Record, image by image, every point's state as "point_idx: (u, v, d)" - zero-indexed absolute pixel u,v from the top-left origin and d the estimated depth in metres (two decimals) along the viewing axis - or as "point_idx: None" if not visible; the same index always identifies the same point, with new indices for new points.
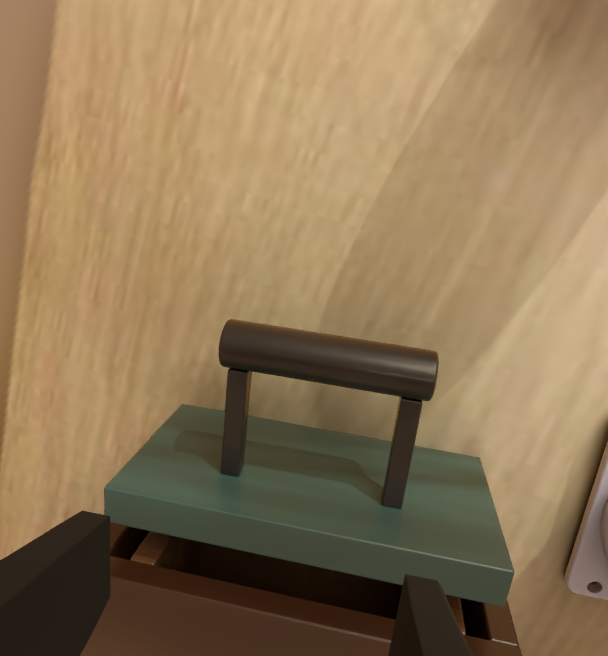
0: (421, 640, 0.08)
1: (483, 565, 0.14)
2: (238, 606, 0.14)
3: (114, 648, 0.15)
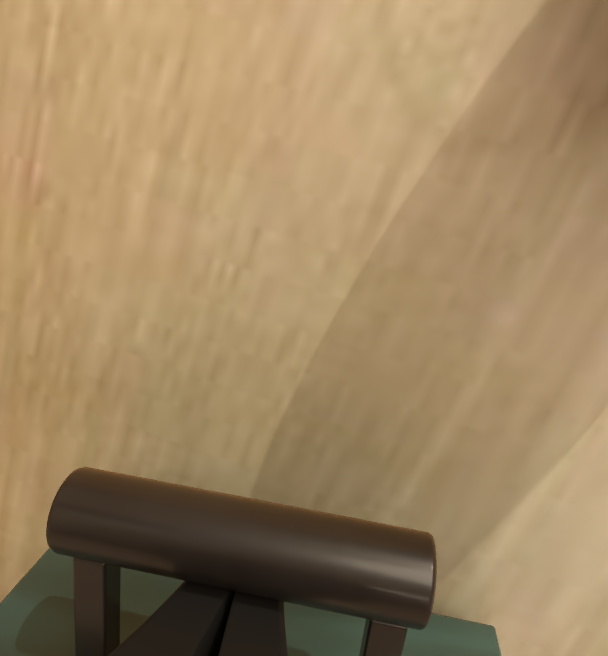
0: (235, 601, 0.08)
1: None
2: None
3: None
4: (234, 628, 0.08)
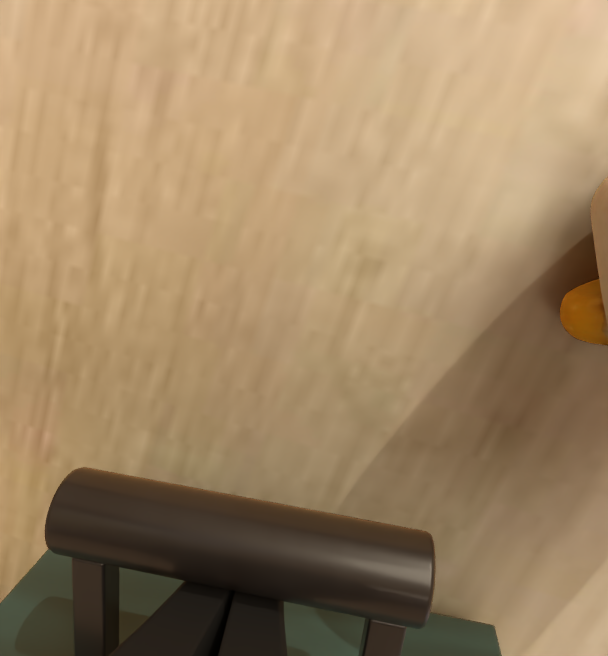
0: (235, 601, 0.08)
1: None
2: None
3: None
4: (234, 628, 0.08)
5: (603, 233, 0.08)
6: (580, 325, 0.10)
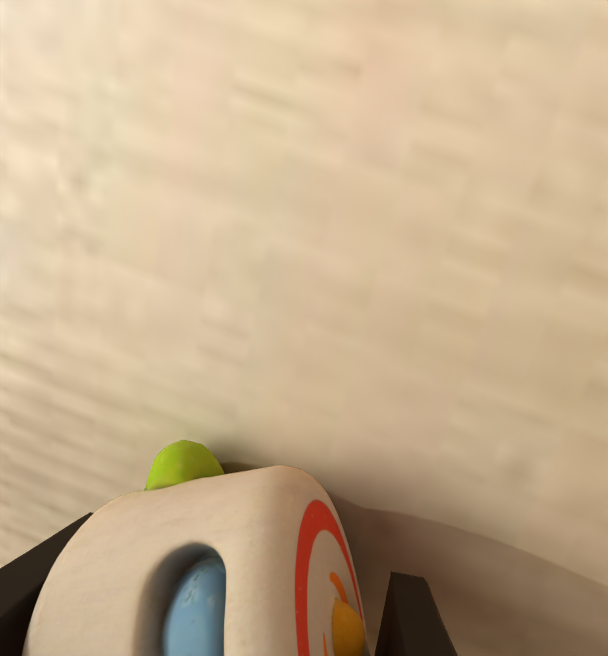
0: (404, 636, 0.08)
1: None
2: None
3: None
4: None
5: None
6: None
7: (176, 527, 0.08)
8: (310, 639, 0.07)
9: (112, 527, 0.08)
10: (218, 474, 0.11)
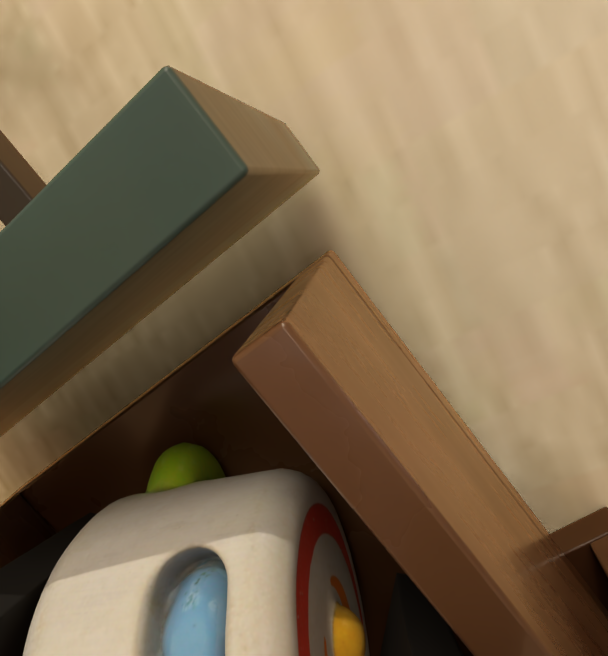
0: (410, 638, 0.08)
1: (116, 127, 0.05)
2: None
3: None
4: None
5: None
6: None
7: (177, 531, 0.08)
8: (311, 644, 0.07)
9: (113, 530, 0.08)
10: (219, 476, 0.11)
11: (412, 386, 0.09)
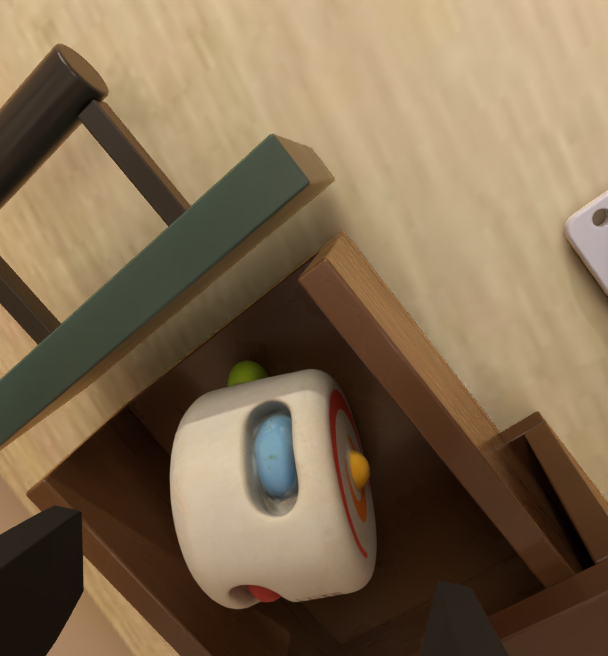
0: (461, 648, 0.08)
1: (245, 162, 0.10)
2: None
3: None
4: None
5: None
6: None
7: (257, 395, 0.13)
8: (338, 453, 0.12)
9: (215, 399, 0.13)
10: None
11: (396, 313, 0.14)
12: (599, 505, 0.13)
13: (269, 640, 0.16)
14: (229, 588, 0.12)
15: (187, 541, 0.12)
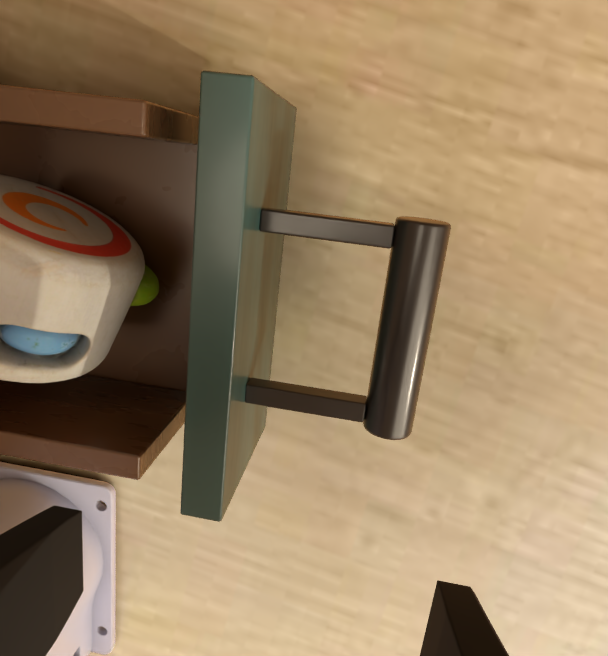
0: (461, 648, 0.08)
1: (221, 497, 0.14)
2: None
3: None
4: None
5: None
6: None
7: (101, 339, 0.15)
8: None
9: (121, 303, 0.15)
10: None
11: None
12: None
13: None
14: None
15: None
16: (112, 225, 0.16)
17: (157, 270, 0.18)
